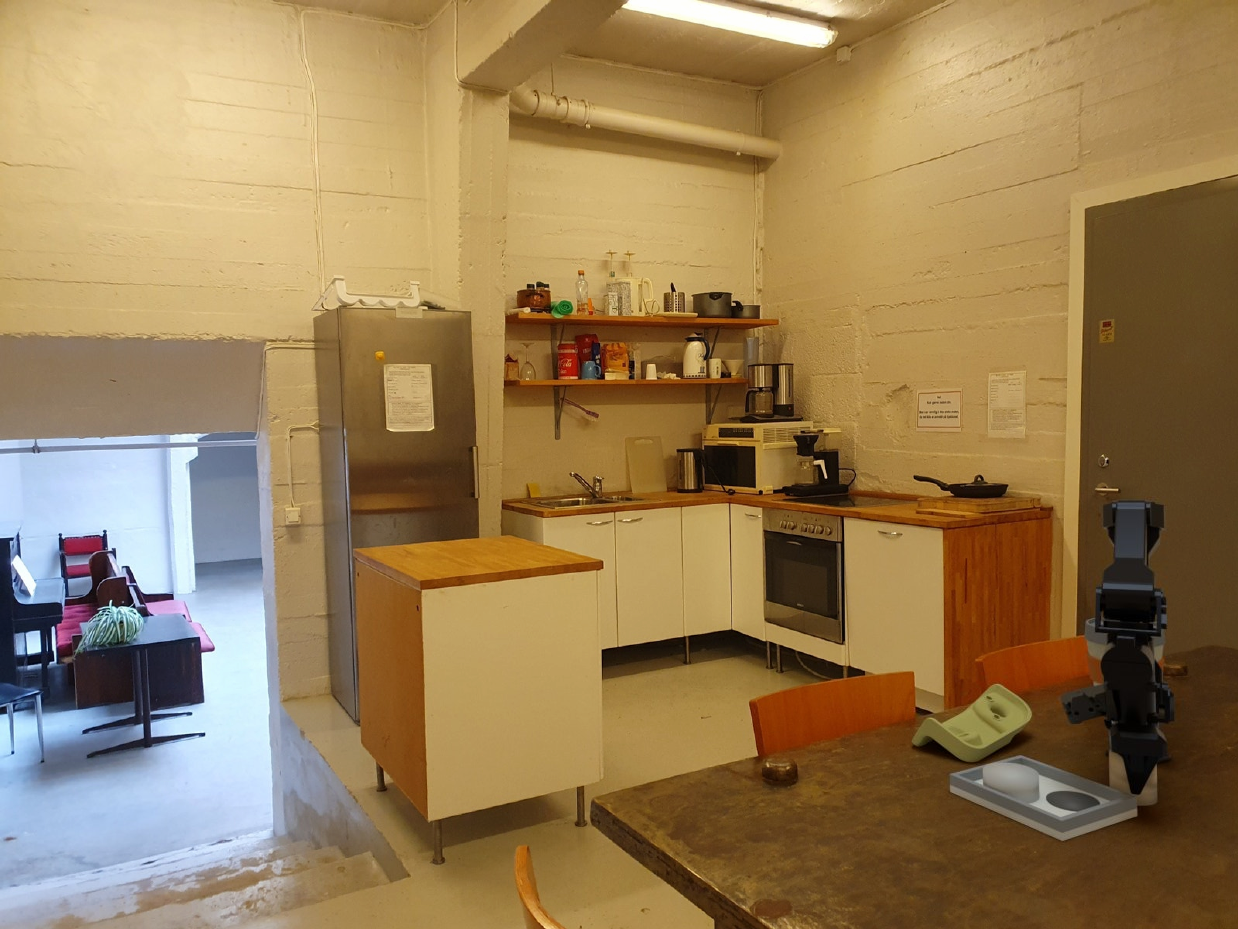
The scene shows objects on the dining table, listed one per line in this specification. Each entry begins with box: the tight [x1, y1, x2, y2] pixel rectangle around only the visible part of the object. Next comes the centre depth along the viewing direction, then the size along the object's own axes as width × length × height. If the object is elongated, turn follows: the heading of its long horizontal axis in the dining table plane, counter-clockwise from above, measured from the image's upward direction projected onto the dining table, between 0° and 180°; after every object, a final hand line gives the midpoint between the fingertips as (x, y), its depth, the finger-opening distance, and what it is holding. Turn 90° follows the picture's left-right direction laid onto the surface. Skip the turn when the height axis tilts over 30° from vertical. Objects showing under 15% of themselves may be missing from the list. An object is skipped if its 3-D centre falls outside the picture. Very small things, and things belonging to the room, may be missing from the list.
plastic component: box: [911, 683, 1033, 763], centre depth 147 cm, size 20×7×10 cm
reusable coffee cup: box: [1083, 616, 1167, 686], centre depth 160 cm, size 13×13×15 cm
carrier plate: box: [949, 754, 1138, 842], centre depth 122 cm, size 14×18×4 cm
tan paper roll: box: [1108, 748, 1158, 807], centre depth 123 cm, size 6×6×6 cm
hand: (1133, 786), depth 123 cm, fingers closed on tan paper roll, 6 cm apart
